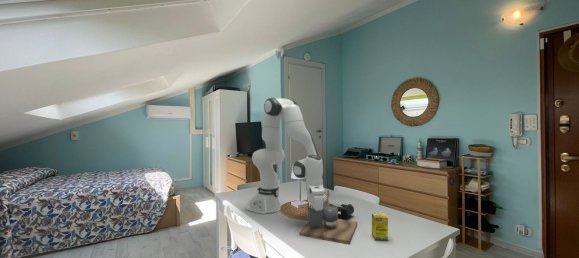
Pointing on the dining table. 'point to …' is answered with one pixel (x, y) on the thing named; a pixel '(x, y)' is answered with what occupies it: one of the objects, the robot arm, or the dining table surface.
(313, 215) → the coupling
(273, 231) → the dining table surface
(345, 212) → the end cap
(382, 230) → the supplement box
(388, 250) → the dining table surface
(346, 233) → the mount plate
